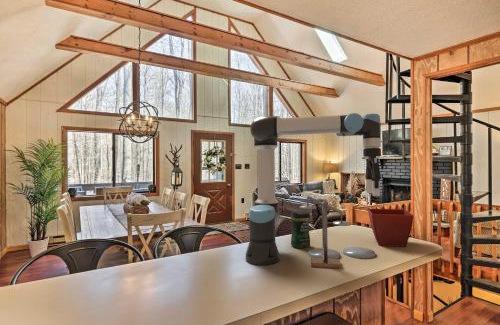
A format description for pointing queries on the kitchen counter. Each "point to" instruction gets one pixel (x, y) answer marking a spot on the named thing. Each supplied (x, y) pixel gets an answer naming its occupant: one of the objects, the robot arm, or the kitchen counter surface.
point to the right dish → (358, 252)
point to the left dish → (319, 253)
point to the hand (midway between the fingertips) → (372, 194)
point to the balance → (325, 235)
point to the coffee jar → (300, 229)
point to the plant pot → (391, 226)
